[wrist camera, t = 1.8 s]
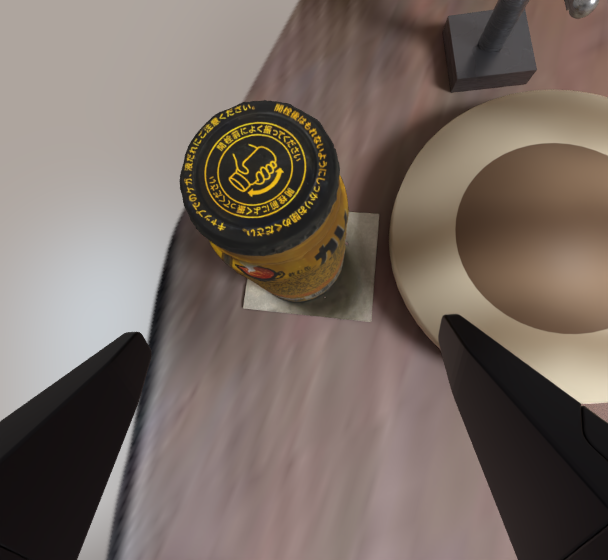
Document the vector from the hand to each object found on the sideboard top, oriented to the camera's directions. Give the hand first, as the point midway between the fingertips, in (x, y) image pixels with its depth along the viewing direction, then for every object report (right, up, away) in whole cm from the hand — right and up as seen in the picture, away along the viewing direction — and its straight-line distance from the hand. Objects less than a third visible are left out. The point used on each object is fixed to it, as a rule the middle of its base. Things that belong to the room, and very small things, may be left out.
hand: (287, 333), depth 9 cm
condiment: (+1, +3, +12) cm, 13 cm away
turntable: (+15, +4, +10) cm, 18 cm away
